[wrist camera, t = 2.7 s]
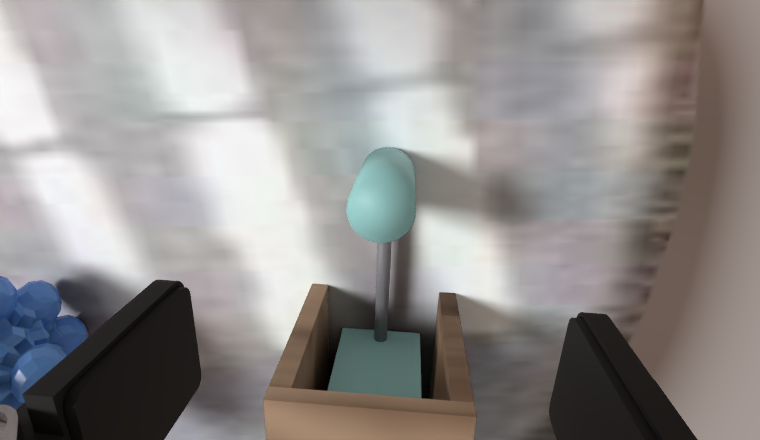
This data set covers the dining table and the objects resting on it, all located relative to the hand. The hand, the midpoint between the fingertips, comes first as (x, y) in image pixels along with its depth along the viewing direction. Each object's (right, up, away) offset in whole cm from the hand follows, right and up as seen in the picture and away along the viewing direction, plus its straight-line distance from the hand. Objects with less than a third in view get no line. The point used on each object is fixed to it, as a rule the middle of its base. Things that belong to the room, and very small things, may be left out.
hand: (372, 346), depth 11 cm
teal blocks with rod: (0, -1, +16) cm, 16 cm away
